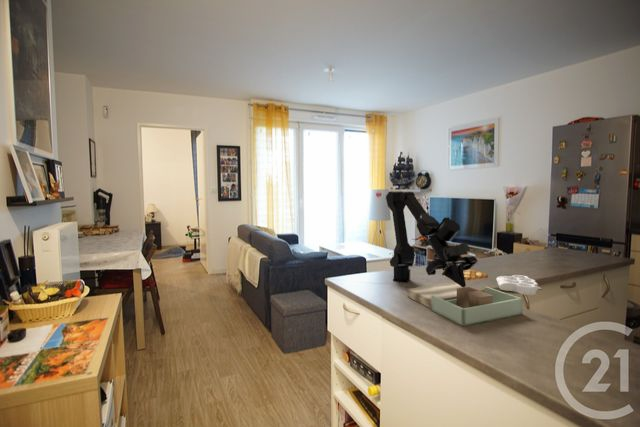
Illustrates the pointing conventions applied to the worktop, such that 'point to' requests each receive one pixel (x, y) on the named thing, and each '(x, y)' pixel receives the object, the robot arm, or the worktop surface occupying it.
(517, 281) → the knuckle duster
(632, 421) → the worktop surface
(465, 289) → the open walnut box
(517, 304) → the box
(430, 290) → the bench plate
